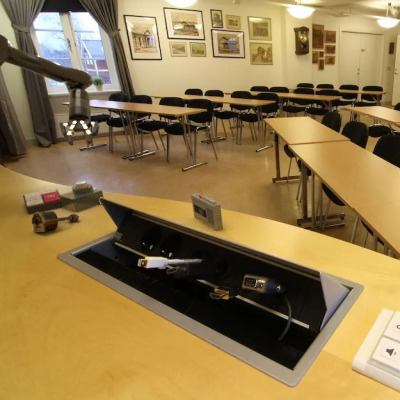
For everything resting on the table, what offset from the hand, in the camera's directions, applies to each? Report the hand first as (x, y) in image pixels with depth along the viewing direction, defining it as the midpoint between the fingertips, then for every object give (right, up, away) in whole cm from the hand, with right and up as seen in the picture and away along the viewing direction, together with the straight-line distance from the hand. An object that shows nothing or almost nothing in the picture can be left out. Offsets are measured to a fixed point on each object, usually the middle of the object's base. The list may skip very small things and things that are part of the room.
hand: (80, 143), depth 132 cm
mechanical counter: (+9, -33, -22) cm, 41 cm away
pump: (+5, -18, -5) cm, 20 cm away
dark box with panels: (-11, -26, -4) cm, 28 cm away
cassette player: (+59, -32, -17) cm, 69 cm away
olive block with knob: (+5, -26, -4) cm, 26 cm away
